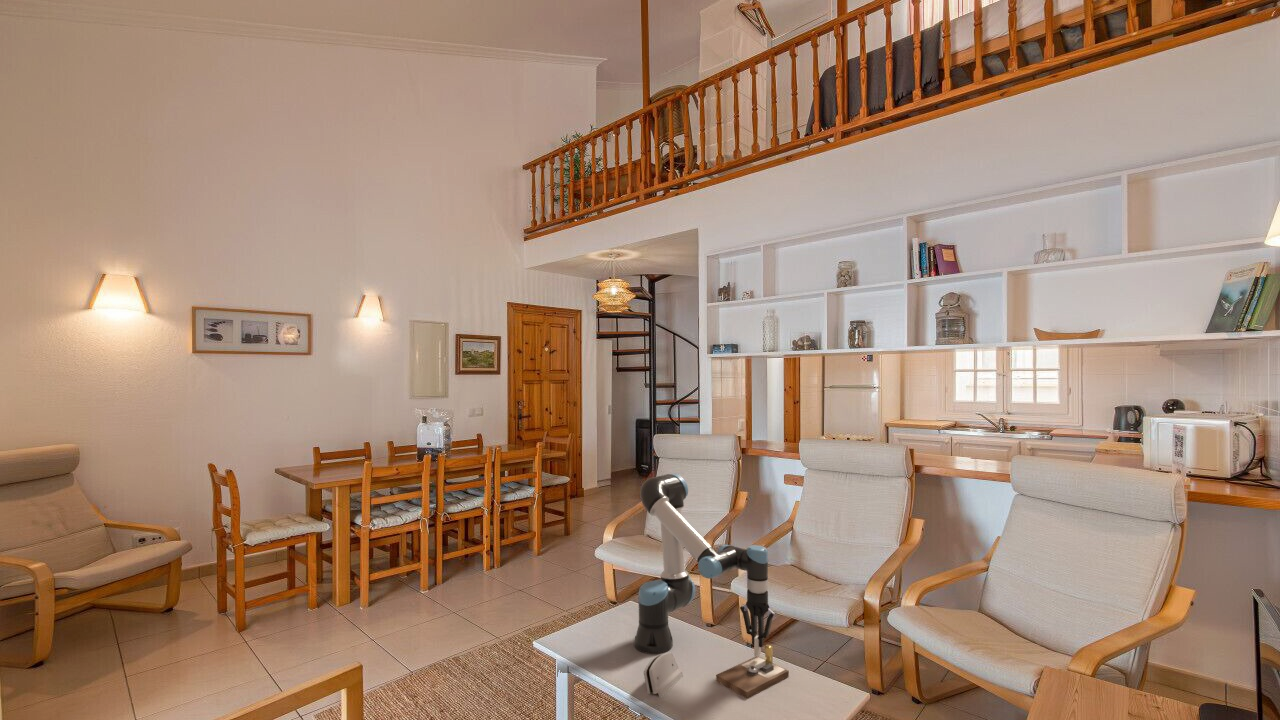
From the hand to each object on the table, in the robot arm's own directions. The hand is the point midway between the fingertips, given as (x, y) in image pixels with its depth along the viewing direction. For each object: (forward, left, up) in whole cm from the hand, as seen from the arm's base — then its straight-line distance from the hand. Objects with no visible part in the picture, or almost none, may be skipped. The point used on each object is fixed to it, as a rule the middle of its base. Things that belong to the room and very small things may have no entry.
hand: (757, 654), depth 210 cm
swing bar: (+4, -4, -2) cm, 6 cm away
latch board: (+4, -8, -4) cm, 10 cm away
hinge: (-13, -34, -5) cm, 37 cm away
